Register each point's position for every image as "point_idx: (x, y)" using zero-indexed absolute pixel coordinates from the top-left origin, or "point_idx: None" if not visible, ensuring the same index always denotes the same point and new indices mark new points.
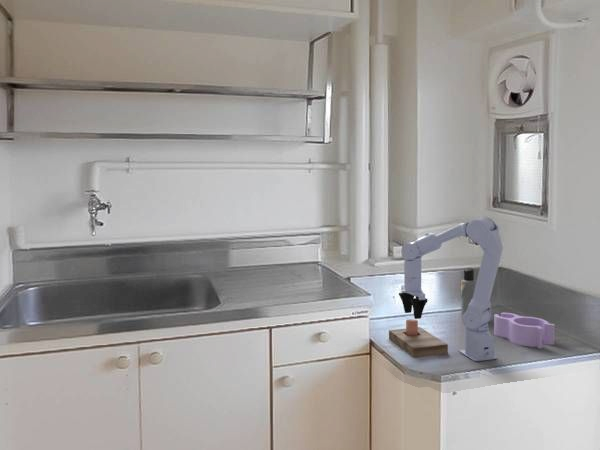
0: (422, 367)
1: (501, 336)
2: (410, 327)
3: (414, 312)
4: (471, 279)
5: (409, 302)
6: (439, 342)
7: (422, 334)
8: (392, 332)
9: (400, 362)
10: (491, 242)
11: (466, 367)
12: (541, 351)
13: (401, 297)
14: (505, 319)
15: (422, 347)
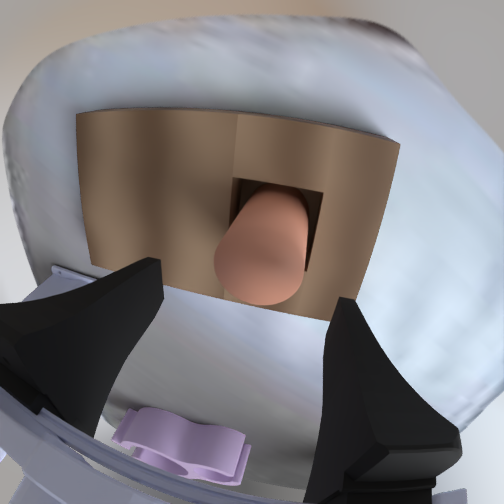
0: (37, 103)
1: (210, 425)
2: (236, 219)
3: (108, 275)
4: None
5: (330, 403)
6: (112, 253)
7: None
8: (347, 133)
9: (81, 44)
10: None
11: (29, 220)
12: (113, 397)
13: (393, 410)
14: (188, 462)
15: (78, 155)
